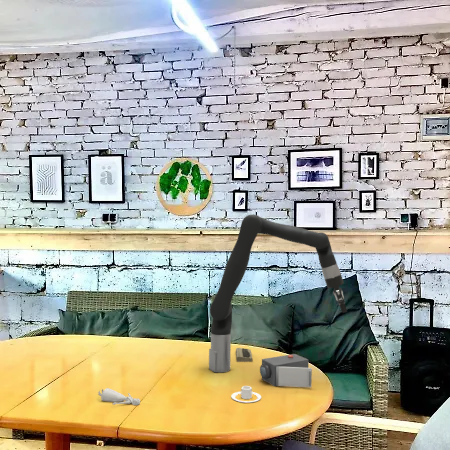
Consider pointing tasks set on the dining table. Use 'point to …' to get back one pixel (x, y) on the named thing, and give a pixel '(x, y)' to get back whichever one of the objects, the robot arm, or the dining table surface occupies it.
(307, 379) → the side door
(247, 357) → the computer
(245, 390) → the candle holder
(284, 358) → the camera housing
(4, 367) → the dining table surface
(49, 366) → the dining table surface
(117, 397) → the woman figurine
